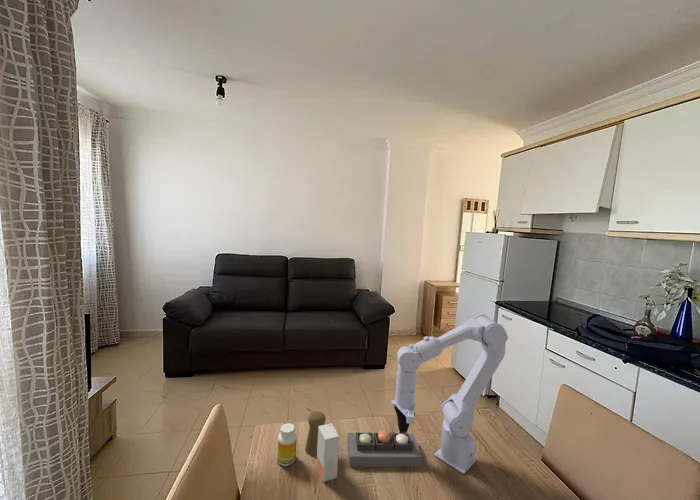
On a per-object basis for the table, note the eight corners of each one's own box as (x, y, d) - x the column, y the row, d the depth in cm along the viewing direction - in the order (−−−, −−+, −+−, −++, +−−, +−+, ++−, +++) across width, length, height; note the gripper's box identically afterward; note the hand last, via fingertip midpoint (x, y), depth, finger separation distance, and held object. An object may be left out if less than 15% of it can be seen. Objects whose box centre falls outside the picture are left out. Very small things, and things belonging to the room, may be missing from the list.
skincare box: (315, 466, 85) (317, 425, 84) (330, 462, 86) (332, 422, 86) (322, 483, 79) (324, 439, 78) (337, 478, 81) (340, 436, 80)
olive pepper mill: (315, 459, 87) (317, 423, 86) (301, 449, 91) (302, 414, 90) (329, 448, 92) (331, 413, 91) (315, 439, 95) (316, 406, 95)
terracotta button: (388, 435, 92) (388, 430, 92) (390, 443, 89) (391, 438, 89) (376, 435, 92) (377, 430, 92) (378, 443, 89) (379, 438, 89)
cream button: (406, 438, 93) (406, 434, 93) (409, 447, 89) (409, 442, 89) (394, 438, 93) (395, 433, 93) (397, 447, 89) (397, 442, 89)
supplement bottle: (275, 454, 88) (276, 423, 87) (293, 451, 90) (295, 420, 89) (277, 468, 83) (279, 435, 82) (297, 464, 85) (298, 431, 84)
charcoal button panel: (412, 442, 97) (413, 428, 96) (421, 466, 87) (422, 451, 86) (347, 441, 95) (348, 427, 95) (349, 466, 85) (350, 450, 85)
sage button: (370, 438, 92) (370, 433, 92) (371, 446, 89) (372, 441, 88) (358, 438, 92) (358, 433, 92) (359, 446, 88) (360, 441, 88)
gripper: (387, 375, 97) (385, 416, 98) (397, 401, 82) (394, 448, 83) (409, 376, 97) (406, 416, 98) (423, 401, 83) (419, 448, 84)
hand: (402, 431), depth 91 cm, fingers closed
